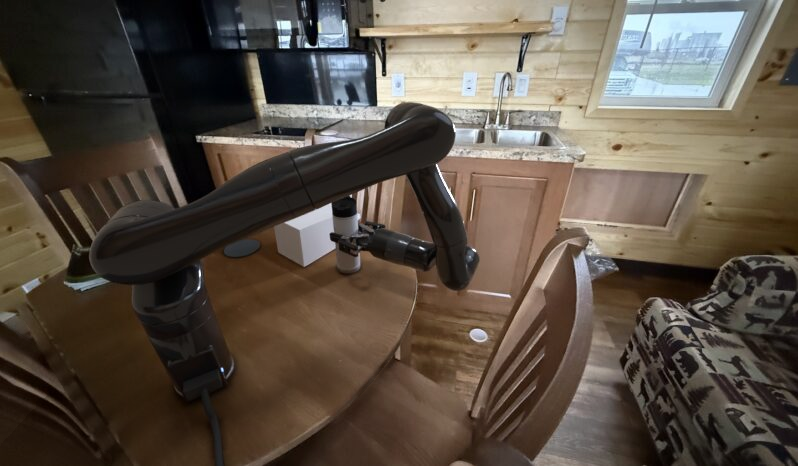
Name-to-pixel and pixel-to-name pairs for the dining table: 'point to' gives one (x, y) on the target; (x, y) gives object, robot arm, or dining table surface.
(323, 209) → the white box
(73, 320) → the dining table surface
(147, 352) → the dining table surface
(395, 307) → the dining table surface
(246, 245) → the coaster
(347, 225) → the travel mug
